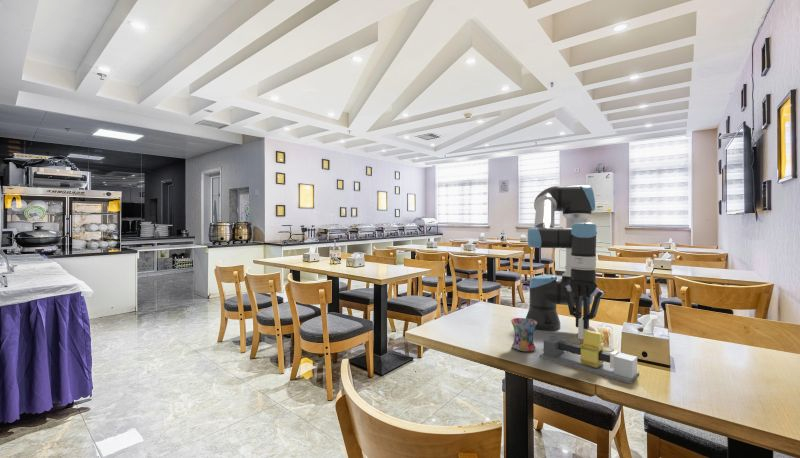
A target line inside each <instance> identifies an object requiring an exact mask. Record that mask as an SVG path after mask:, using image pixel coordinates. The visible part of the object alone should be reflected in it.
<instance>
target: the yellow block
mask: <svg viewBox="0 0 800 458" xmlns="http://www.w3.org/2000/svg"><path fill="white" fill-rule="evenodd" d="M602 334H603V333H602V332H599V331H598V332H597V331H596V332H594V331H589V330H584V339H583V343H582V344H580V346H581V355H580V356H581V364H585V365H588V366H592V367H595V368H597V367H599V366H600V365H601V364H602V363H604V361H601V360H599V351H604V352H605V343H603V337H602Z"/></svg>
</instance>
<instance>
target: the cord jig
mask: <svg viewBox="0 0 800 458" xmlns="http://www.w3.org/2000/svg"><path fill="white" fill-rule="evenodd" d="M538 356H539V358H541V359H543V360H547V361H551V362H554V363H557V364H560V365H565V366H567V367H571V368H574V369H578V370H581V371H585V372H588V373H591V374H595V375H598V376H602V377H606V378H608V379H613V380H616V381H620V382H622V383H626V384H631V383H632V382H633V381H634V380H635V379H636V378H637V377H638V376H639V375H640V371H638V356H636V355H631V354H627V353H624V352H621V351H619V350H617V349H616V350H615V349H614V350H613V351H611V352H607V351H605V350H604V351H599V360H601V361H604V363H602V364H601V365H600V366H599V367H597V368H595V367H592V366H588V365H585V364H581V344H580V345H579V344H575V343H571V342H567V341H565V337H561V336H556V335H552V336H550V337H548V338H545V340H543V352H542V353H541V354H539V355H538Z"/></svg>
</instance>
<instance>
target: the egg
mask: <svg viewBox="0 0 800 458" xmlns="http://www.w3.org/2000/svg"><path fill="white" fill-rule="evenodd" d="M586 330H589V331H594V332H597V331H596V329H594V328H593V327H592V326H590V325H589V328H588V329H586ZM577 341H578V343H579V344H580V345H581V344H582V343H583V339H580V338H578V334H577Z"/></svg>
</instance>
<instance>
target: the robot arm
mask: <svg viewBox="0 0 800 458" xmlns="http://www.w3.org/2000/svg"><path fill="white" fill-rule="evenodd" d="M533 207H534V210H535V214H534V225H533V226H534V227H529V228H528V230H527V245H528V247H530V248H537V249H540V248H541V249H548V248H549V249H565V271H564V272H563V273H562V274H561V278H558V276H557V275H556V274H539V275H535V276H532V277H531V278H530V279H529V286H528V288H529V306H528V307H529V308H528V311H527V313H526V316H525V318H527V319H532V320H535V321H536V322H537V325H536V327H535V330H540V331H541V330H542V331H556V330H559V329H561V320H560V317H559V315H558V312H557V311H558V310H557V305H561V306H567V307H568V308H567V309H568V312H569V316H573V317H574V318H575V327H576V328H577V329H578V331H577V335H578V338H580V339H584V330H586V329H588V328H589V326H590V320H592V319H595V318H596V317H597V313H598V309H599V305H600V303H601V299H602V297H603V296H604V295H605V291H604V290H600V289H599V288H598V285H597V283H596V281H597V280H596V276H597V274H596V273H597V271H596V268H597V234H598V232H597V224H596V223H594V222H588V219H589V218H590V217H591V216H592V212H595V210H596V199H595V194H594V190H593V187H592V186H591V185H586V184H578V185H577V184H576V185H572V184H571V185H555V186H551V187H550V186H549V187H548V188H547V187H546V188H545V189H544V190H543V191H541V192H540V193H538V195H537V196H536V197H535V199H534V201H533ZM555 212H562V216H563V217H564V218H565V220H566V222H565V227H555ZM582 308H583V309H582ZM578 338H577V339H578Z"/></svg>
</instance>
